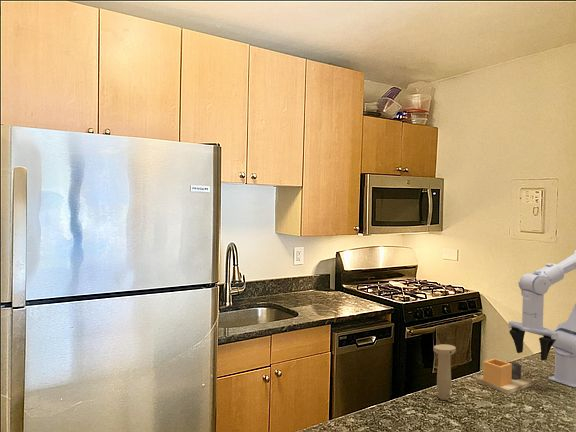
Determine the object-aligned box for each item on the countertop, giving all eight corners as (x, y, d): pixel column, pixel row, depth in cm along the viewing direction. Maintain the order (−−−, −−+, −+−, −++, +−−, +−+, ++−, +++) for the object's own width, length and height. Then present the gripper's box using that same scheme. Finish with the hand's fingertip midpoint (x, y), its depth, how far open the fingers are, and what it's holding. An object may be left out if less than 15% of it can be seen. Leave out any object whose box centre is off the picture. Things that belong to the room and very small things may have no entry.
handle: (458, 399, 129) (459, 348, 129) (440, 403, 127) (441, 351, 126) (446, 393, 134) (447, 343, 133) (429, 396, 131) (430, 345, 131)
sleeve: (483, 380, 141) (483, 361, 141) (494, 376, 144) (494, 358, 144) (500, 386, 136) (500, 367, 136) (511, 383, 139) (511, 363, 139)
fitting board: (501, 373, 150) (502, 357, 150) (534, 384, 141) (534, 368, 141) (475, 381, 143) (475, 365, 143) (508, 394, 134) (508, 376, 133)
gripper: (503, 309, 143) (502, 351, 144) (549, 319, 131) (548, 365, 131) (516, 306, 147) (514, 347, 147) (562, 316, 135) (560, 361, 135)
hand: (531, 356), depth 140 cm, fingers open, 7 cm apart
